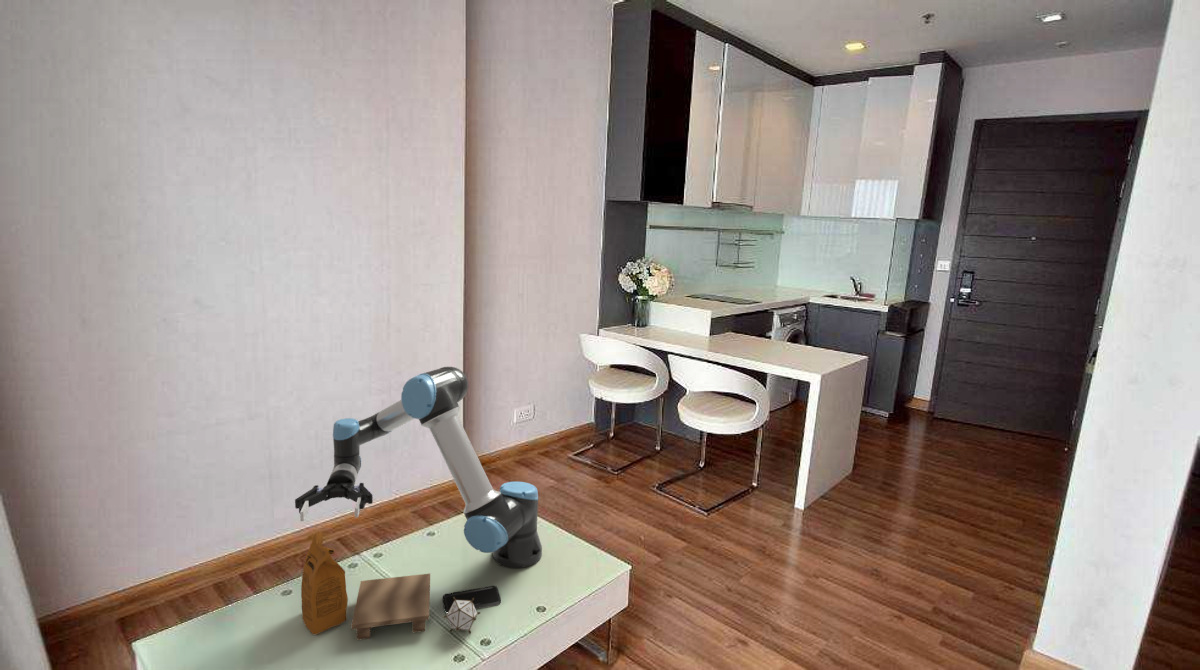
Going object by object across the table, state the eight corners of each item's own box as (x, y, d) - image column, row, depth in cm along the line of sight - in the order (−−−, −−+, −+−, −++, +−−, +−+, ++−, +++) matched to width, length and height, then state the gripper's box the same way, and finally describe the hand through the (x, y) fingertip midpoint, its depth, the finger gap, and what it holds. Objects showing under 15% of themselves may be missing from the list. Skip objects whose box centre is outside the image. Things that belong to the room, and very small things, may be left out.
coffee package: (339, 598, 157) (335, 523, 153) (351, 624, 148) (348, 545, 144) (298, 612, 151) (293, 534, 147) (308, 640, 142) (304, 557, 138)
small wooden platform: (430, 589, 163) (430, 573, 162) (429, 633, 146) (429, 615, 145) (361, 597, 158) (360, 580, 157) (351, 643, 141) (351, 625, 140)
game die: (463, 647, 147) (456, 635, 140) (440, 624, 150) (433, 611, 143) (489, 617, 152) (484, 605, 144) (466, 596, 155) (460, 583, 148)
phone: (442, 594, 160) (496, 584, 165) (442, 598, 160) (496, 588, 166) (445, 612, 153) (501, 601, 158) (445, 616, 153) (501, 605, 158)
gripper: (385, 489, 182) (378, 523, 162) (297, 494, 175) (279, 531, 155) (385, 467, 181) (378, 498, 161) (296, 471, 174) (277, 505, 154)
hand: (329, 514), depth 158 cm, fingers open, 13 cm apart
